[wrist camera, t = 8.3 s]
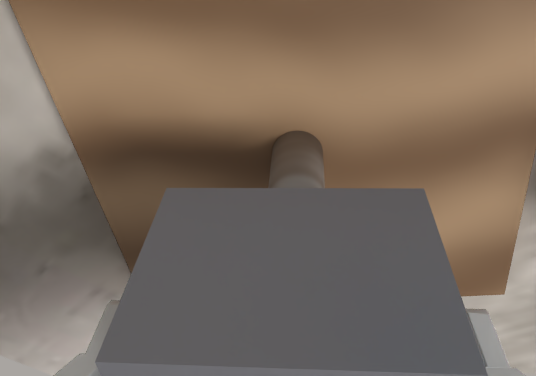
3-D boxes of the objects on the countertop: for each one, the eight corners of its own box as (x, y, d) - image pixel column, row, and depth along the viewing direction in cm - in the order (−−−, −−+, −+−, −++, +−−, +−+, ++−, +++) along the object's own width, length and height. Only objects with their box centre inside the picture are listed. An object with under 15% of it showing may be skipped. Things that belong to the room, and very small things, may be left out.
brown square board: (-1, -72, 16) (-183, -22, 10) (583, -172, 13) (803, -185, 7) (153, 293, 26) (110, 421, 20) (496, 275, 23) (558, 417, 18)
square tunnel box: (166, 188, 12) (85, 384, 8) (424, 188, 11) (496, 399, 7) (199, 342, 16) (158, 533, 11) (394, 348, 15) (429, 551, 11)
